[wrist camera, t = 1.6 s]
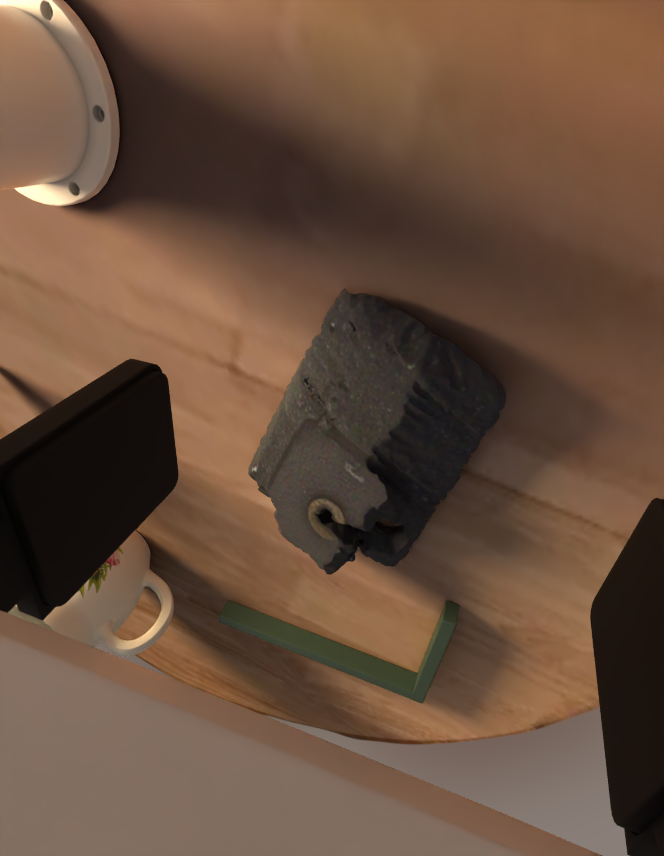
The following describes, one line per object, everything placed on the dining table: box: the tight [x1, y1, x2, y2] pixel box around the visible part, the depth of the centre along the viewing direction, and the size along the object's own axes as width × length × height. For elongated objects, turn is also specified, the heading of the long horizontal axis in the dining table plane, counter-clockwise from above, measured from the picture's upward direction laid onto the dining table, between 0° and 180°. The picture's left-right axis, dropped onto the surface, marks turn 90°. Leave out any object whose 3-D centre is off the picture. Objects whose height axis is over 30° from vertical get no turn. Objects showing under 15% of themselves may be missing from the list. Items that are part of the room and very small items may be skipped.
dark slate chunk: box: [248, 289, 506, 574], centre depth 37 cm, size 15×22×5 cm
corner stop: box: [219, 600, 459, 703], centre depth 50 cm, size 23×13×2 cm, turn 83°
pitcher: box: [8, 530, 174, 656], centre depth 51 cm, size 11×18×14 cm, turn 81°
